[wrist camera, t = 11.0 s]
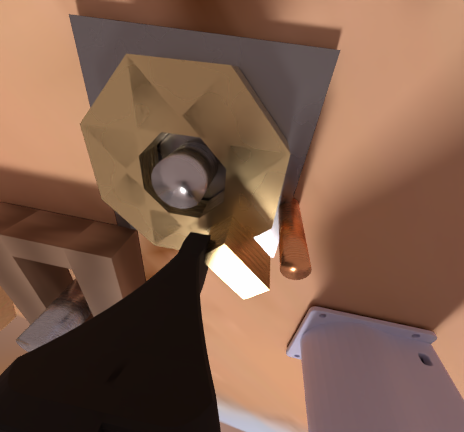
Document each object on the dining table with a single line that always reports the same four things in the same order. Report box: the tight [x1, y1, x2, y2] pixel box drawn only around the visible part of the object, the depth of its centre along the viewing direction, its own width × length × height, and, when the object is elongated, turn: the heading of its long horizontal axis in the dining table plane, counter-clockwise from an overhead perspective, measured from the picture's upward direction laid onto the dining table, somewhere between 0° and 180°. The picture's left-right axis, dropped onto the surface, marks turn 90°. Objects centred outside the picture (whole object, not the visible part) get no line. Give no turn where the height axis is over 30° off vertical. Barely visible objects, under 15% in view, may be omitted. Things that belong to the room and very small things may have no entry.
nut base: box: [69, 14, 340, 280], centre depth 10 cm, size 12×11×5 cm
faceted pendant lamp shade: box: [80, 54, 290, 299], centre depth 10 cm, size 9×10×4 cm
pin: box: [16, 279, 92, 352], centre depth 18 cm, size 3×3×6 cm
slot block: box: [0, 202, 146, 324], centre depth 19 cm, size 11×16×3 cm
